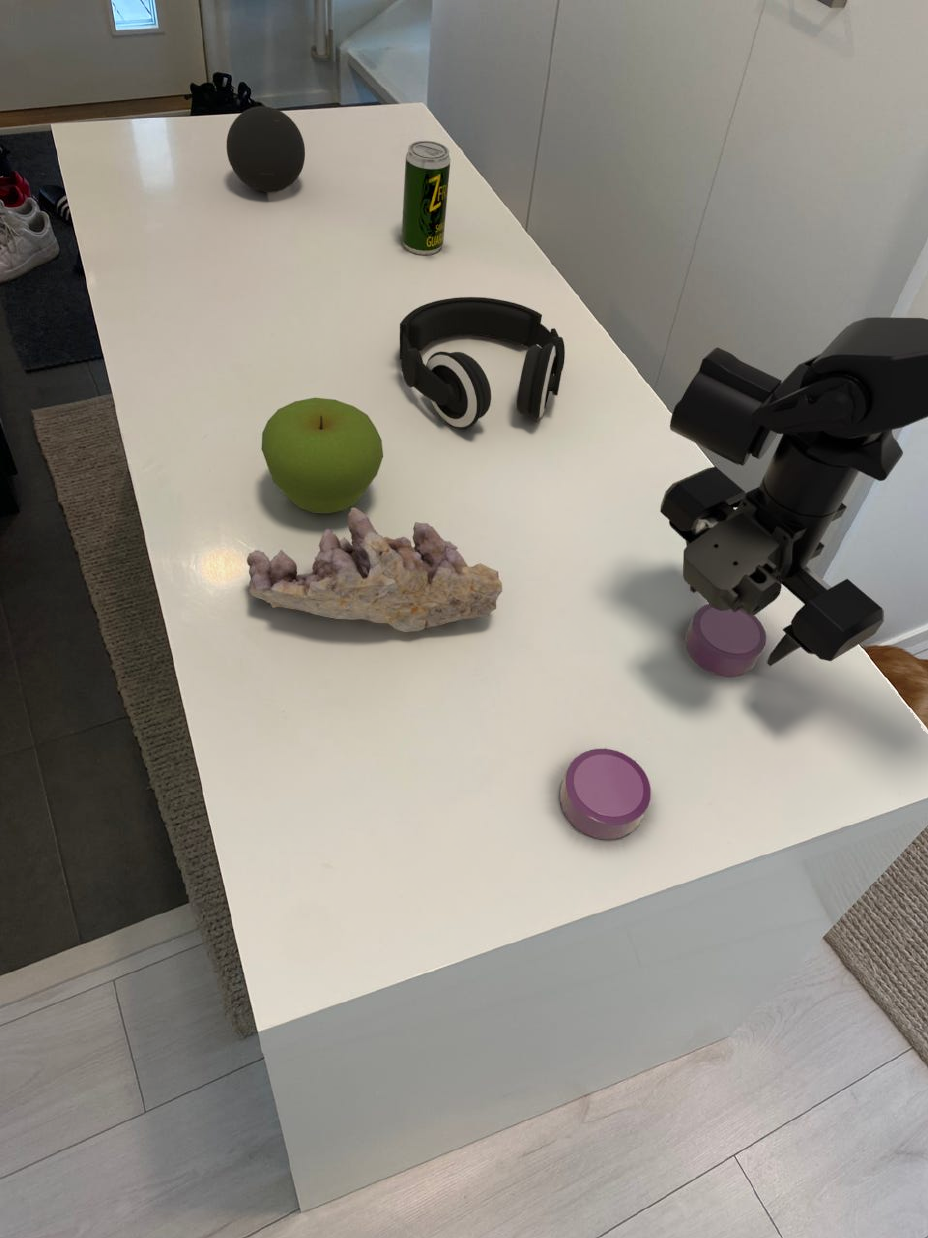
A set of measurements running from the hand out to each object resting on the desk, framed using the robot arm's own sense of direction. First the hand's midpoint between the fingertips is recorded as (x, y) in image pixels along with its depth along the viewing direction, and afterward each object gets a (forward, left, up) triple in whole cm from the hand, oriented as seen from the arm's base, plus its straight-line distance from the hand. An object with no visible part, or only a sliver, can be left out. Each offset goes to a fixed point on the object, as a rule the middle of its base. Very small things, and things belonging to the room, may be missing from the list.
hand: (732, 625), depth 80 cm
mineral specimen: (+19, +24, -3) cm, 31 cm away
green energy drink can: (+68, -13, -3) cm, 69 cm away
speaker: (+89, -2, -3) cm, 89 cm away
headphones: (+41, -3, -3) cm, 41 cm away
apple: (+33, +21, -3) cm, 39 cm away
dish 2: (0, 0, -3) cm, 3 cm away
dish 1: (-6, +19, -3) cm, 20 cm away
